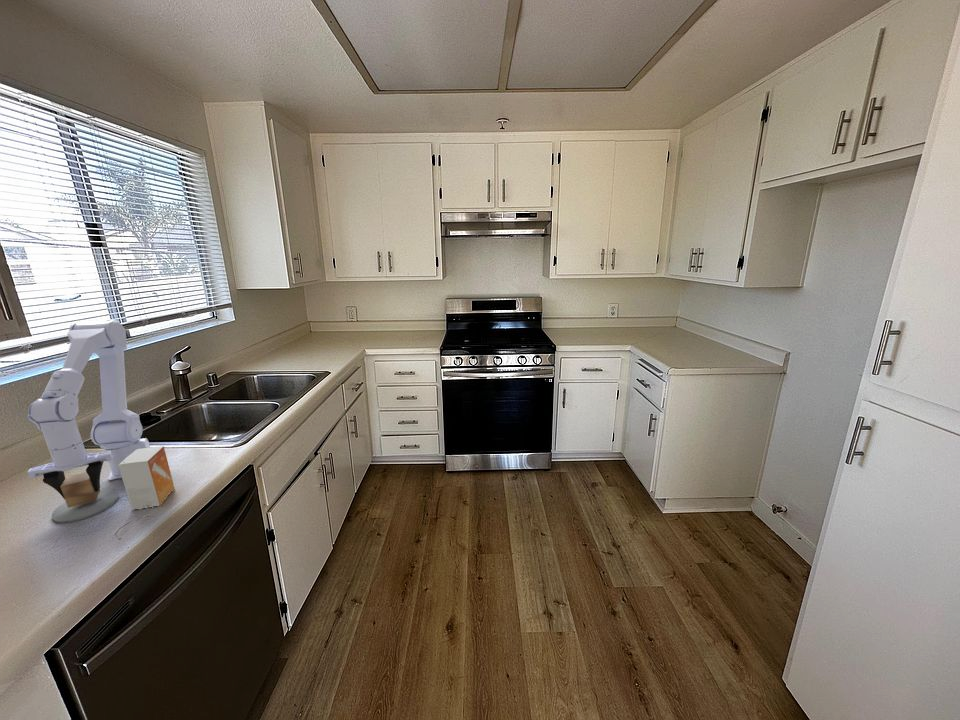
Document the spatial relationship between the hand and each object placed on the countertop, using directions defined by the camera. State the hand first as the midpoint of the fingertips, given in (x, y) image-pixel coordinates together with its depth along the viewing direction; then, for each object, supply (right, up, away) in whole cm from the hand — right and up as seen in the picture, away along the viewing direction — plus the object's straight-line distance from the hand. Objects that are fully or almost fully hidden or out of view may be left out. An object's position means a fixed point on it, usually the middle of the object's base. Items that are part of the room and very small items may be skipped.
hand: (82, 493), depth 98 cm
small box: (+15, -3, +4) cm, 16 cm away
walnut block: (0, -2, 0) cm, 2 cm away
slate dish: (0, -4, +1) cm, 4 cm away
